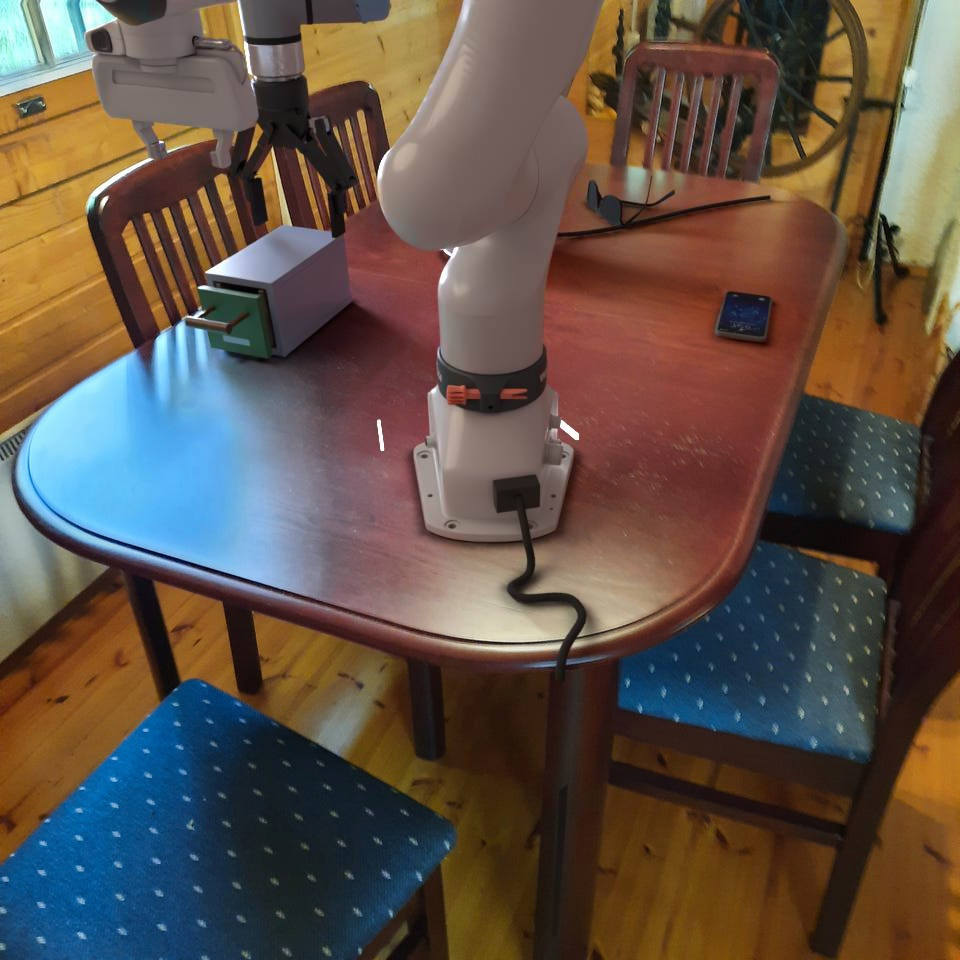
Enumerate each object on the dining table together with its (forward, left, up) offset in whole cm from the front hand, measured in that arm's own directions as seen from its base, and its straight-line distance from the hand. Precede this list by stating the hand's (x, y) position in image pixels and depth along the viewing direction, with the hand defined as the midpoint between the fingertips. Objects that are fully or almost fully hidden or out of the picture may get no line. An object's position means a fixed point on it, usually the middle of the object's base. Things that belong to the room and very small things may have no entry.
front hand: (190, 162), depth 103 cm
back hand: (+20, -7, -16) cm, 27 cm away
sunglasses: (+61, -62, -28) cm, 91 cm away
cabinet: (+14, -5, -28) cm, 32 cm away
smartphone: (+14, -73, -28) cm, 80 cm away
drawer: (+8, -2, -27) cm, 28 cm away
